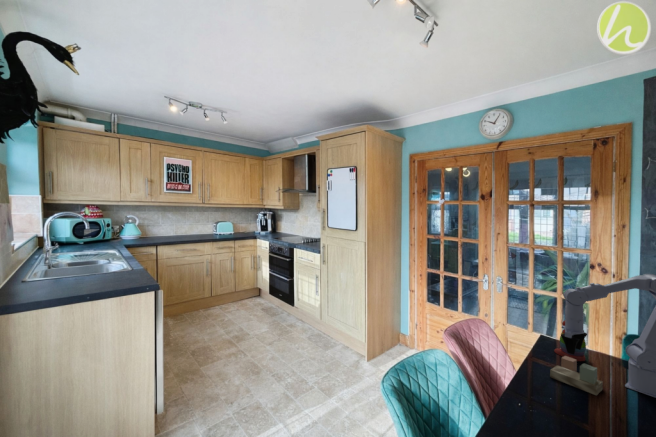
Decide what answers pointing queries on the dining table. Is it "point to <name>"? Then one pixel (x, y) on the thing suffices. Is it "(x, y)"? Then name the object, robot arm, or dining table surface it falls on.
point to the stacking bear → (563, 352)
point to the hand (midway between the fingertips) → (574, 351)
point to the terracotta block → (569, 363)
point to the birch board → (575, 380)
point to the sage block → (588, 373)
